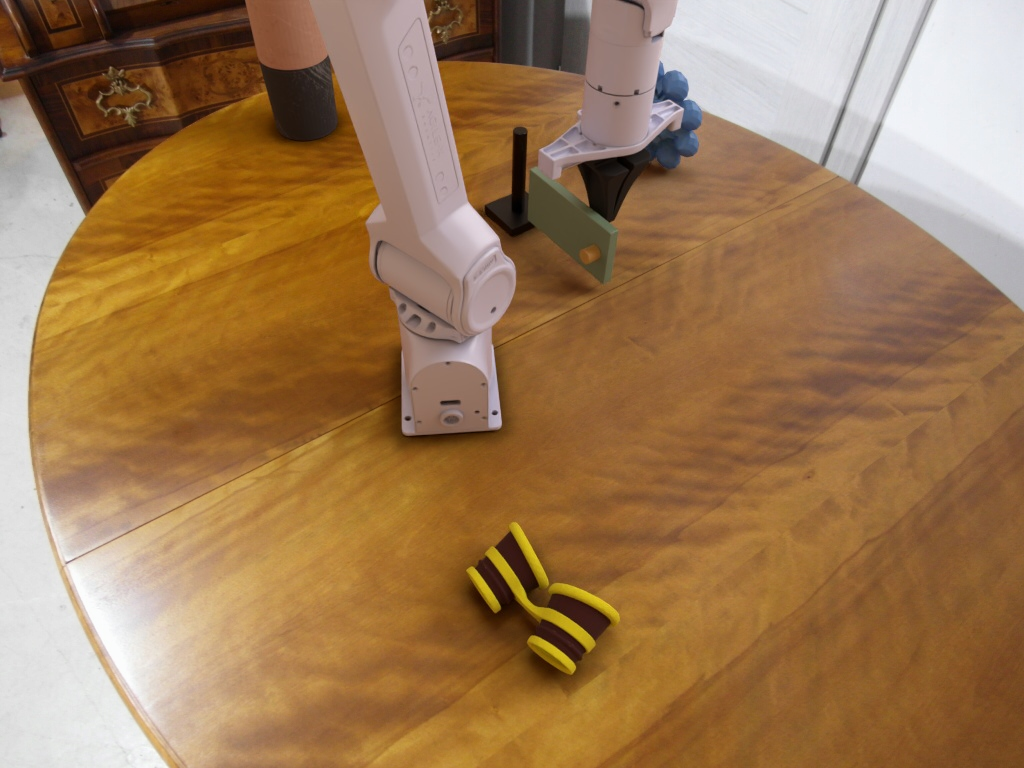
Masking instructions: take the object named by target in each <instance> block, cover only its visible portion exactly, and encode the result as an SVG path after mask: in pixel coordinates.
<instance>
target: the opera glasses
mask: <svg viewBox="0 0 1024 768" xmlns="http://www.w3.org/2000/svg"><path fill="white" fill-rule="evenodd" d="M465 573H466V574H467V576H468V577H469V579H470V580H471V582H472V583H473V586H474V587H475V588H476V590H477V592H478V593H479V594H480V595H481V597H482V599H483V600H484V601H485V603H486V604H487V605H488V607H489V608H490V610H492V612H493V613H494V614H497V613H499V612H500V611H501V610H502V605H505V604H506V605H510V604H511V601H513V600H515V601H516V602H517V603H518V604H519V605H520V606H521V607H523V609H524V610H525V611H526V612H527V613H528V614H529V615H531V616H532V617H533V618H534V619H535V620H536V622H538V623H539V624H538V625H536V626H535V631H536V632H535V635H530V636H529V637H528V639H527V641H526V644H527V646H528V648H530V649H531V651H533V652H534V653H535V654H537V655H538V657H540V658H541V659H543V660H544V661H545V662H546V663H549V664H550V665H551V666H553V667H554V668H556V669H558V671H561V672H563V673H565V674H567V675H570V676H572V675H574V673H575V671H576V670H577V666H576V663H577V662H579V661H580V662H581V661H582V660H583V655H584V654H589V653H590V652H591V651H592V650H593V649H595V647H596V646H597V644H596V641H597V640H598V638H600V637H601V635H602V634H603V633H604V632H605V631H606V630H607V629H611V628H615V627H616V626H618V625H619V623H620V621H621V616H620V614H619V612H618V611H617V610H616V609H615V608H614V607H613V606H611V605H610V604H609V603H607V602H606V601H604V600H603V599H602V598H600V597H598V596H597V595H594V594H592V593H590V592H588V591H586V590H584V589H581V588H579V587H577V586H574V585H570V584H567V583H562V582H554V583H553V584H551V585H550V582H549V578H548V576H547V574H546V572H545V570H544V568H543V565H542V563H541V562H540V559H539V558H538V556H537V554H536V552H535V550H534V549H533V547H532V545H531V543H530V541H529V540H528V538H527V536H526V534H525V533H524V530H523V529H522V528H521V526H520V525H519V524H518V522H516V521H512V522H510V523H509V524H508V533H506V534H505V535H504V537H502V539H501V540H500V541H499V542H498V543H497V544H496V545H495V546H493V545H490V547H489V548H488V549H487V550H486V551H485V552H484V558H483V559H478V561H477V565H476V566H475V567H474V566H469V567H468V568H467V569H466V570H465ZM549 585H550V586H549ZM536 589H539V590H541V591H544V590H546V589H548V596H549V601H548V602H547V606H546V607H544V606H537V605H535V604H533V603H532V602H531V601H530V600H529V598H528V596H527V593H529V592H532V591H533V590H536Z"/></svg>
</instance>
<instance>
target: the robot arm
mask: <svg viewBox="0 0 1024 768" xmlns="http://www.w3.org/2000/svg"><path fill="white" fill-rule="evenodd" d="M309 1H310V4H311V7H312V10H313V13H314V16H315V18H316V21H317V24H318V27H319V30H320V32H321V35H322V38H323V41H324V44H325V47H326V49H327V52H328V55H329V58H330V65H331V67H332V70H333V72H334V75H335V77H336V81H337V83H338V86H339V90H340V92H341V94H342V98H343V101H344V103H345V106H346V108H347V109H346V110H347V112H348V114H349V117H350V120H351V123H352V125H353V128H354V131H355V134H356V137H357V141H358V143H359V145H360V148H361V151H362V154H363V156H364V160H365V162H366V165H367V168H368V171H369V174H370V176H371V180H372V183H373V185H374V188H375V190H376V193H377V196H378V200H379V202H380V203H378V205H376V207H375V208H374V210H373V211H372V212H371V214H370V215H369V217H368V218H367V219H366V221H365V228H366V230H367V232H368V235H369V254H368V255H369V256H368V257H369V258H368V264H369V269H370V272H371V275H373V277H374V278H375V279H376V280H377V281H378V282H380V283H381V284H384V285H387V286H388V291H389V297H390V298H389V299H390V300H391V301H393V303H394V304H395V306H396V311H397V319H398V328H399V335H400V343H401V356H400V357H401V432H402V434H403V435H404V436H405V437H407V436H408V437H410V436H411V437H412V436H425V435H440V434H441V435H442V434H457V433H471V432H485V431H486V432H489V431H498V430H500V429H501V428H502V427H503V421H502V412H501V402H500V394H499V385H498V384H499V383H498V376H497V367H496V358H495V348H494V344H493V327H494V325H496V324H497V323H498V322H499V321H500V320H501V318H503V316H504V314H505V313H506V311H507V310H508V309H509V307H510V305H511V302H512V300H513V297H514V295H515V291H516V288H517V287H516V286H517V270H516V265H515V263H514V262H513V259H511V258H510V257H509V256H507V255H506V254H505V252H504V251H503V249H502V244H501V239H500V237H499V235H498V234H497V233H496V232H495V231H494V229H493V228H492V227H491V226H490V225H489V223H488V222H487V221H486V220H485V219H484V218H483V217H482V216H481V215H480V214H479V213H478V211H477V210H476V209H475V208H474V206H472V204H471V203H470V202H469V200H468V193H467V189H466V186H465V180H464V177H463V172H462V168H461V163H460V158H459V154H458V149H457V146H456V141H455V136H454V131H453V127H452V123H451V118H450V113H449V109H448V105H447V100H446V95H445V91H444V87H443V81H442V79H441V78H442V77H441V73H440V69H439V64H438V60H437V55H436V50H435V46H434V42H433V37H432V33H431V32H432V31H431V28H430V24H429V19H428V14H427V9H426V5H425V0H309ZM678 2H679V0H591V11H590V21H589V30H588V31H589V32H588V41H587V53H586V64H585V74H584V82H583V83H584V84H583V95H582V104H581V109H579V110H577V112H576V120H577V122H576V123H575V124H573V125H572V126H571V127H570V128H569V129H567V130H566V131H565V132H563V134H561V135H560V136H559V137H557V138H556V139H555V140H554V141H552V142H551V143H550V144H548V145H546V146H544V147H542V148H538V159H537V166H538V170H539V171H540V172H542V173H543V174H544V175H545V176H546V177H548V178H549V179H551V180H557V179H560V178H561V176H562V172H563V171H565V170H568V169H570V168H573V167H575V166H577V169H578V171H579V173H580V176H581V178H582V181H583V184H584V187H585V191H586V196H587V201H588V206H589V207H590V208H591V209H593V210H594V211H595V212H596V213H598V214H599V215H600V216H601V217H603V218H604V219H605V220H606V221H608V222H609V223H610V224H611V223H612V222H614V221H615V220H616V218H617V216H618V214H619V212H620V210H621V207H622V205H623V204H624V201H625V199H626V197H627V196H628V194H629V191H630V190H631V187H632V186H633V185H634V184H635V182H636V180H637V179H638V178H639V177H640V175H641V174H642V173H643V172H644V171H645V170H646V168H647V167H648V166H649V165H650V163H651V162H650V158H651V154H650V152H649V151H648V150H646V149H645V147H646V146H647V145H648V144H649V143H650V142H651V141H652V140H653V139H654V138H655V137H656V136H657V135H658V134H660V133H661V132H662V131H663V130H664V129H668V130H670V131H675V130H677V129H680V127H681V122H682V117H683V112H684V109H683V108H682V107H680V106H679V105H677V104H675V103H674V102H672V101H671V100H666V101H663V102H659V103H654V104H653V98H654V92H655V87H656V81H657V75H658V69H659V63H660V61H661V56H662V51H663V44H664V38H665V33H666V30H667V29H668V28H669V27H670V26H671V25H672V24H673V20H674V18H675V17H676V12H677V8H678Z"/></svg>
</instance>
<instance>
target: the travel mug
mask: <svg viewBox="0 0 1024 768" xmlns="http://www.w3.org/2000/svg"><path fill="white" fill-rule="evenodd" d="M244 1H245V6H246V10H247V11H246V12H247V14H248V19H249V24H250V28H251V29H250V30H251V32H252V38H253V42H254V46H255V51H256V55H257V58H258V59H257V60H258V62H259V67H260V71H261V74H262V78H263V83H264V85H265V86H264V87H265V89H266V93H267V96H268V101H269V104H270V108H271V111H272V116H273V119H274V123H275V126H276V129H277V130H278V132H279V134H280V135H281V136H283V137H284V138H286V139H289V140H293V141H300V142H301V141H302V142H304V141H306V142H307V141H314V140H318V139H322V138H325V137H326V136H329V135H331V133H333V132H334V131H335V130H336V128H338V127H337V126H338V112H337V104H336V96H335V89H334V82H333V81H334V80H333V73H332V64H331V61H330V58H329V55H328V52H327V49H326V47H325V44H324V41H323V38H322V35H321V32H320V30H319V27H318V24H317V21H316V18H315V16H314V13H313V10H312V7H311V4H310V1H309V0H244Z"/></svg>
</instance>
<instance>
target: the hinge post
mask: <svg viewBox="0 0 1024 768" xmlns="http://www.w3.org/2000/svg"><path fill="white" fill-rule="evenodd" d="M511 150H512V154H511V156H512V157H511V193H510V194H508V195H505V196H503V197H500V198H498V199H496V200H493V201H490V202H489V203H486V204H484V213H485V214H486V215H487V216H488V217H489V218H490V219H492V221H494V223H496V224H497V225H498V226H499V227H500V228H501V229H502V230H503V231H504V232H506V233H507V234H508V235H509V236H510V237H512V238H513V237H516V236H518V235H520V234H523V233H525V232H527V231H529V230H532V229H535V228H536V227H535V226H534V225H533V224H532V223H531V222H530V221H529V220H528V199H529V192H528V191H526V188H527V187H526V184H527V159H528V158H527V156H528V155H527V154H528V128H526V127H524V126H515V127H514V128H513V129H512V149H511Z"/></svg>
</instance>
